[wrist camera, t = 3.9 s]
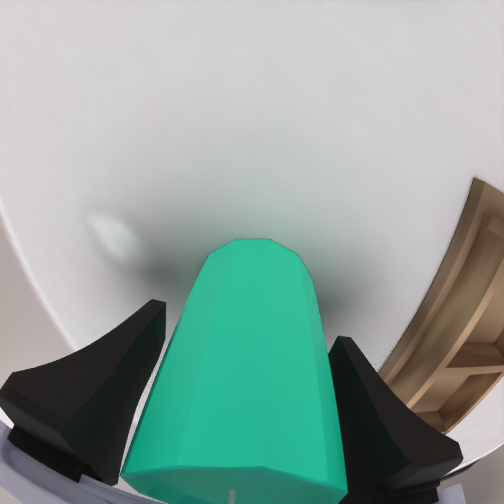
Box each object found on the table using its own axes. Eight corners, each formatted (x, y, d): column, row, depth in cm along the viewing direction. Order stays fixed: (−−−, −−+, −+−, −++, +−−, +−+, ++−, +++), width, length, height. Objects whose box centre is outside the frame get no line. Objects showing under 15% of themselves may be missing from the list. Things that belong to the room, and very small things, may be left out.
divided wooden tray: (432, 413, 20) (442, 441, 17) (343, 417, 20) (348, 452, 16) (550, 228, 11) (579, 249, 8) (474, 177, 11) (517, 197, 8)
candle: (174, 288, 15) (78, 508, 4) (252, 211, 13) (190, 540, 2) (255, 349, 16) (236, 552, 6) (336, 291, 14) (392, 536, 3)
